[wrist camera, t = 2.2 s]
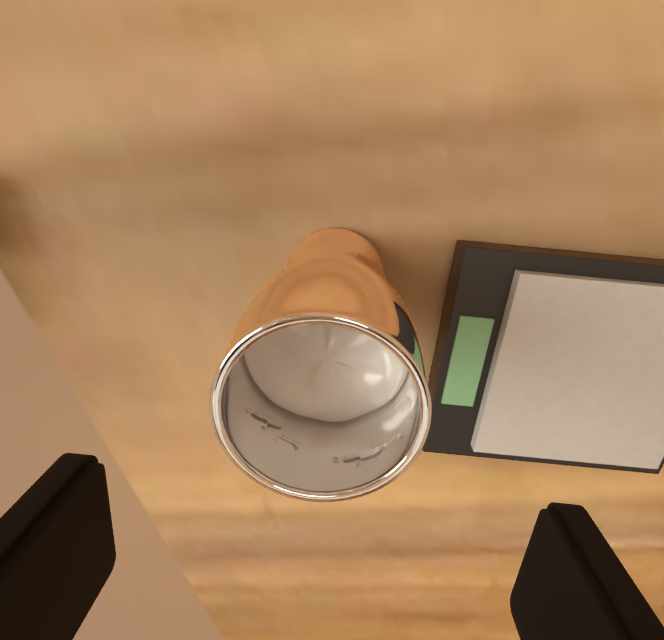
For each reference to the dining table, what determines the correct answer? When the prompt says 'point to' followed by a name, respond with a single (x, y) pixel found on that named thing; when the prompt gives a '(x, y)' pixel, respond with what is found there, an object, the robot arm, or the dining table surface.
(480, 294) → the scale
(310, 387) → the beer glass
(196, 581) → the dining table surface
